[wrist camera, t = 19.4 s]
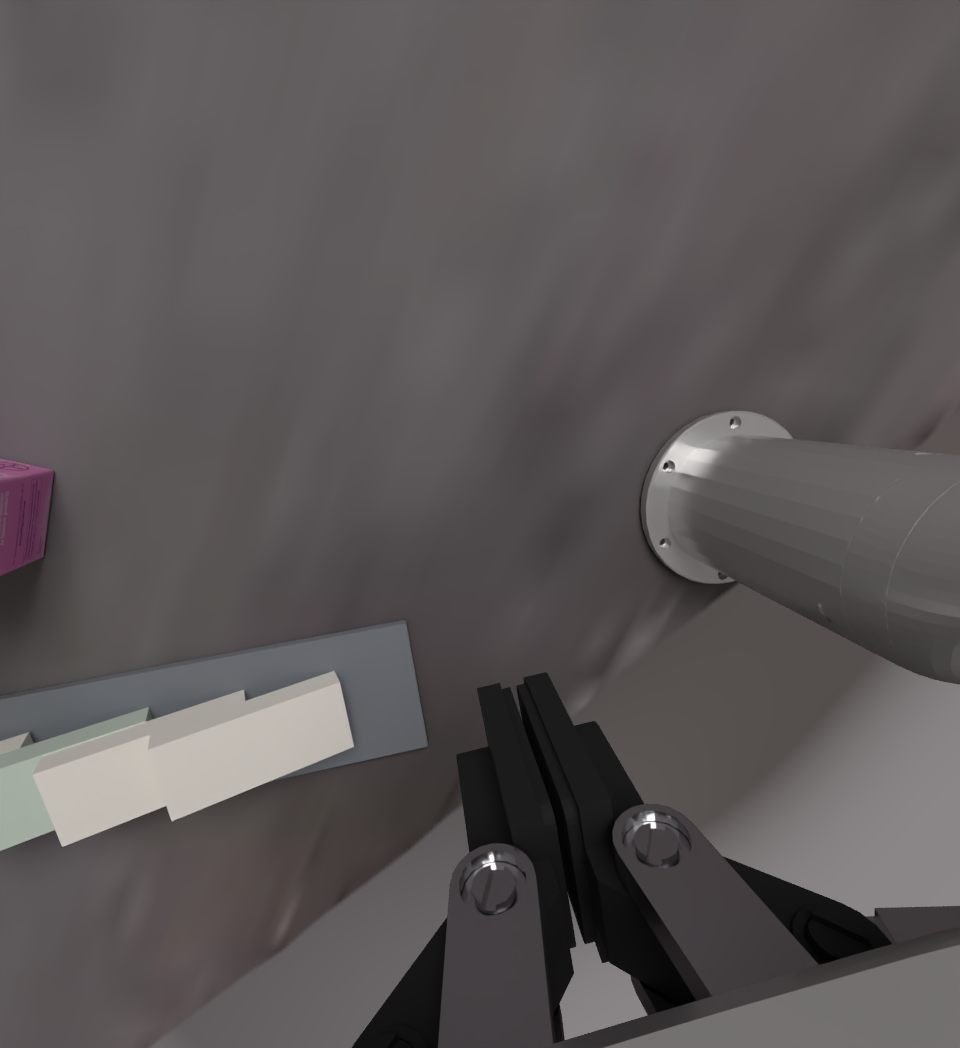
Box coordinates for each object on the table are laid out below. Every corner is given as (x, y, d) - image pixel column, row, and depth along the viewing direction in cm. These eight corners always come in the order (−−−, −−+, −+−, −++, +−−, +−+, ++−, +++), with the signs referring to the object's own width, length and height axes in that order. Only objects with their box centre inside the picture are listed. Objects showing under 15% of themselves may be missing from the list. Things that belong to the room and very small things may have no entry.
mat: (405, 619, 36) (406, 623, 35) (427, 741, 39) (428, 746, 38) (-110, 716, 32) (-120, 722, 31) (-48, 845, 34) (-55, 853, 34)
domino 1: (145, 720, 32) (-90, 798, 28) (167, 787, 34) (-55, 871, 29) (148, 706, 34) (-74, 777, 29) (169, 770, 35) (-41, 848, 31)
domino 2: (245, 702, 33) (32, 774, 28) (263, 767, 34) (62, 846, 30) (244, 689, 35) (41, 756, 30) (261, 752, 36) (69, 825, 31)
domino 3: (339, 682, 34) (147, 750, 29) (354, 746, 35) (171, 821, 31) (334, 670, 35) (150, 733, 31) (348, 732, 37) (173, 801, 32)
